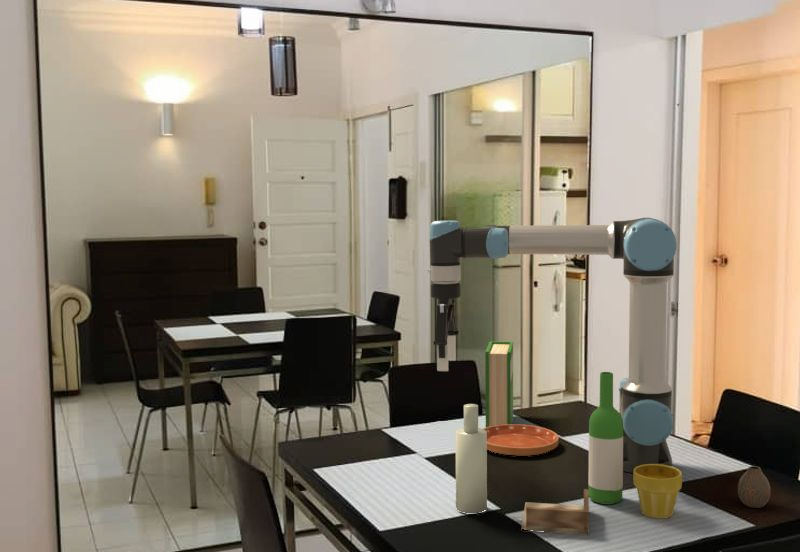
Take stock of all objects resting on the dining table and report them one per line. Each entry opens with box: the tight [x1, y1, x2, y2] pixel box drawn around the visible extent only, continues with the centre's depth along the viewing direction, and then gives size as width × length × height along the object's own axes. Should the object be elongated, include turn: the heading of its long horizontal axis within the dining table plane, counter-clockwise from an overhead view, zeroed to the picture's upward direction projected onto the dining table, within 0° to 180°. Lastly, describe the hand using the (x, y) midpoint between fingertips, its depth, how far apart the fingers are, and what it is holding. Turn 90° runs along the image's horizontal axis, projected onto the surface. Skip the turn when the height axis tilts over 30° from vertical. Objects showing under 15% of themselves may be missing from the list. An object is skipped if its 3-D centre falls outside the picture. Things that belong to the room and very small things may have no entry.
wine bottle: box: [588, 371, 624, 505], centre depth 204 cm, size 8×8×30 cm
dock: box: [521, 488, 590, 536], centre depth 193 cm, size 14×14×5 cm
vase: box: [737, 465, 772, 509], centre depth 201 cm, size 7×7×9 cm
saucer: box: [482, 423, 560, 457], centre depth 248 cm, size 23×23×4 cm
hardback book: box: [484, 341, 514, 428], centre depth 272 cm, size 18×7×24 cm, turn 170°
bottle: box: [455, 403, 488, 513], centre depth 200 cm, size 7×7×24 cm
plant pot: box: [632, 464, 683, 519], centre depth 196 cm, size 10×10×10 cm
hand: (446, 365), depth 224 cm, fingers open, 13 cm apart
